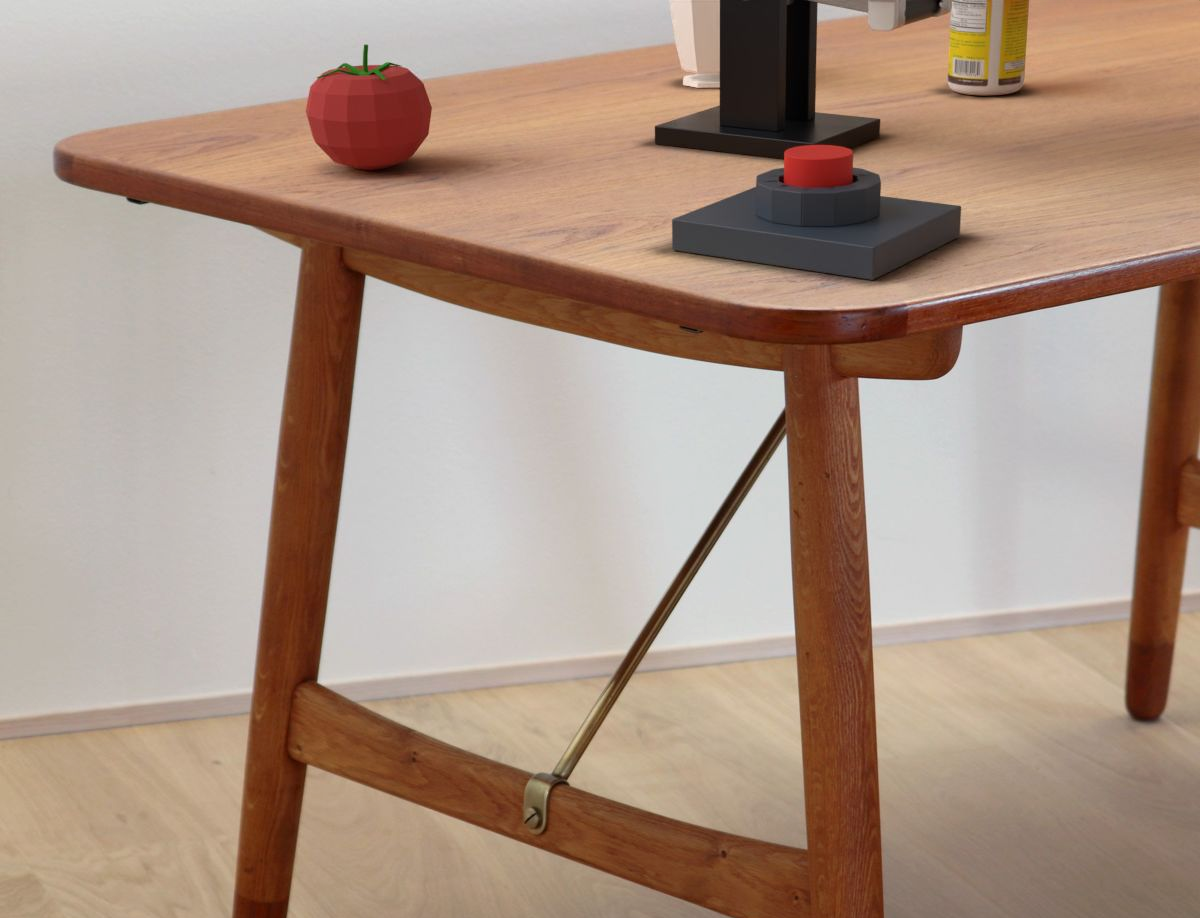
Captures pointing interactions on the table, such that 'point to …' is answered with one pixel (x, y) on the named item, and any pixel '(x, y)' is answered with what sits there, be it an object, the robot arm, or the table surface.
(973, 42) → the supplement bottle
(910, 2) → the lever
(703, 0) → the cup
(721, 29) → the bracket
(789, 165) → the button
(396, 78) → the tomato
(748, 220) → the block
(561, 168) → the table surface
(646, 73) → the table surface
